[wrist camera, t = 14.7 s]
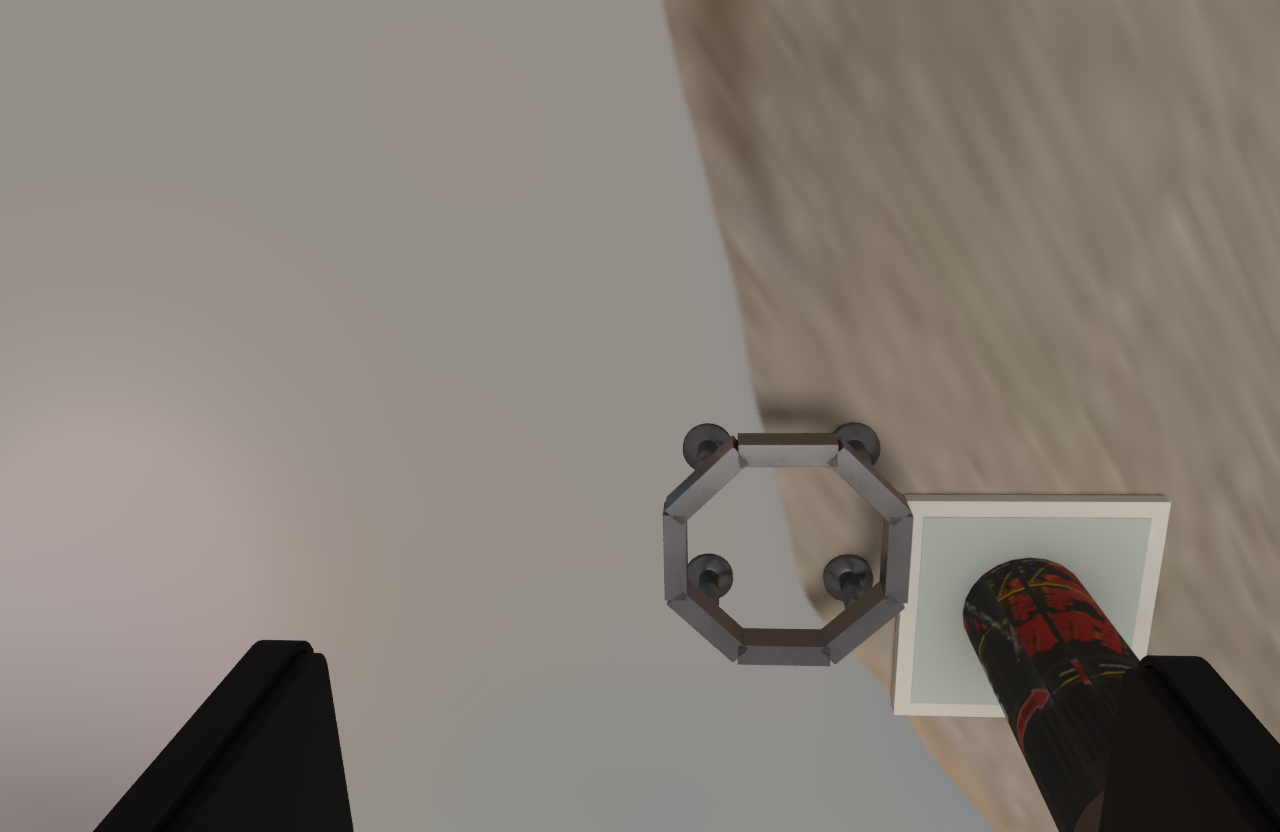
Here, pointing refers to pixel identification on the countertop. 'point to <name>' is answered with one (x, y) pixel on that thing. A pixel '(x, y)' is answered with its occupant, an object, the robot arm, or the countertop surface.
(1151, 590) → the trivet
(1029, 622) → the deodorant
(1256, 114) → the countertop surface
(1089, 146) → the countertop surface
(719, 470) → the ring stand
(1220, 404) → the countertop surface
